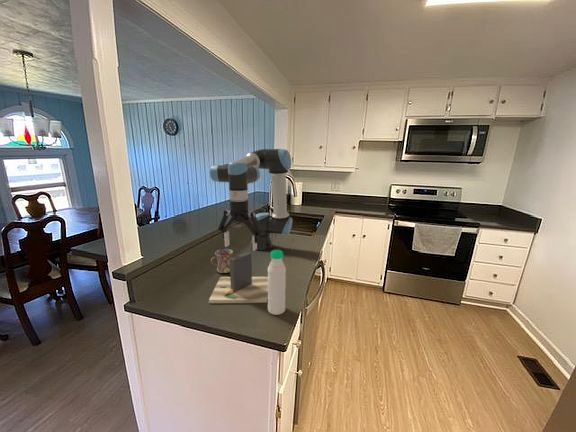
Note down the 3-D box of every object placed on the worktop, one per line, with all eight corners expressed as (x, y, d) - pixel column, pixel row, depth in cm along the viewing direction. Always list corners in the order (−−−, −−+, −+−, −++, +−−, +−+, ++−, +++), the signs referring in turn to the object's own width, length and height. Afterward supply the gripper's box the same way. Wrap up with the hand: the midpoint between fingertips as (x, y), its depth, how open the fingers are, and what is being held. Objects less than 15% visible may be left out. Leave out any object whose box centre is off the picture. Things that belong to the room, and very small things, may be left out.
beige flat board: (220, 279, 118) (220, 276, 118) (269, 279, 119) (268, 276, 119) (209, 303, 99) (208, 299, 98) (267, 302, 100) (267, 299, 99)
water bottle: (285, 304, 98) (286, 247, 93) (285, 315, 92) (286, 254, 86) (268, 304, 98) (267, 247, 92) (267, 315, 91) (266, 254, 86)
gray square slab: (223, 293, 102) (221, 261, 99) (248, 281, 113) (247, 251, 110) (226, 295, 101) (225, 263, 97) (251, 283, 111) (251, 253, 108)
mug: (228, 265, 134) (227, 247, 132) (237, 270, 128) (236, 252, 125) (207, 271, 126) (206, 253, 124) (216, 278, 120) (215, 258, 117)
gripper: (207, 199, 99) (211, 247, 105) (262, 203, 92) (263, 254, 97) (218, 196, 106) (220, 241, 112) (270, 200, 99) (270, 248, 104)
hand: (240, 247), depth 104 cm, fingers open, 13 cm apart
